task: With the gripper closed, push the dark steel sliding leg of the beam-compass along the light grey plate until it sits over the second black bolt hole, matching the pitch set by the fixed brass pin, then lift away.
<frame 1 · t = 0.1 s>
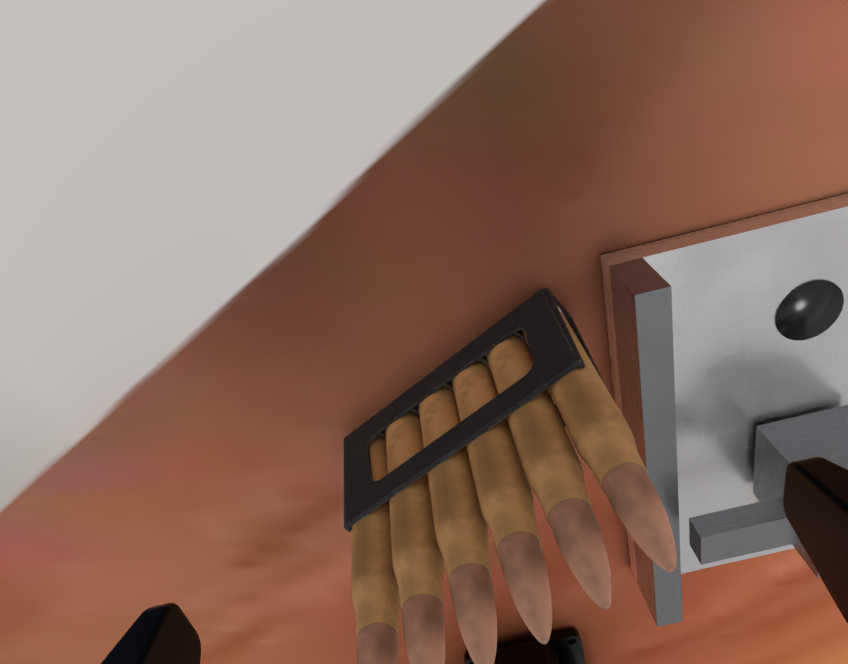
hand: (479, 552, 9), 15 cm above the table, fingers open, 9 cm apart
ammunition clip: (451, 378, 25), on the table
hole plate: (762, 402, 27), on the table
sliding leg: (787, 504, 25), point 4 cm above the table, slide at 0.0 cm
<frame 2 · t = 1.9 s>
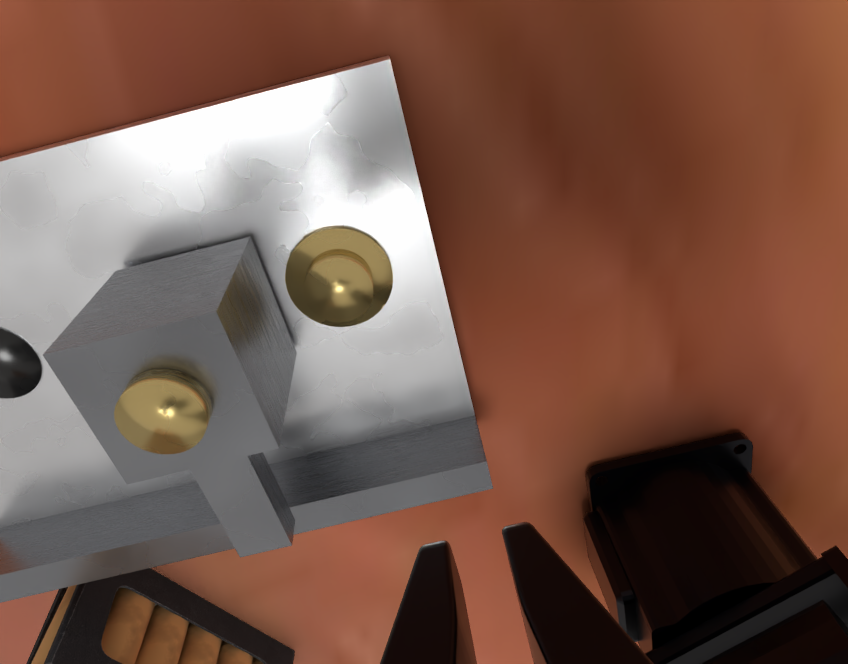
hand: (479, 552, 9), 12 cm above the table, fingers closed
ammunition clip: (192, 605, 27), on the table
hole plate: (173, 335, 20), on the table
sliding leg: (220, 420, 17), point 4 cm above the table, slide at 0.0 cm
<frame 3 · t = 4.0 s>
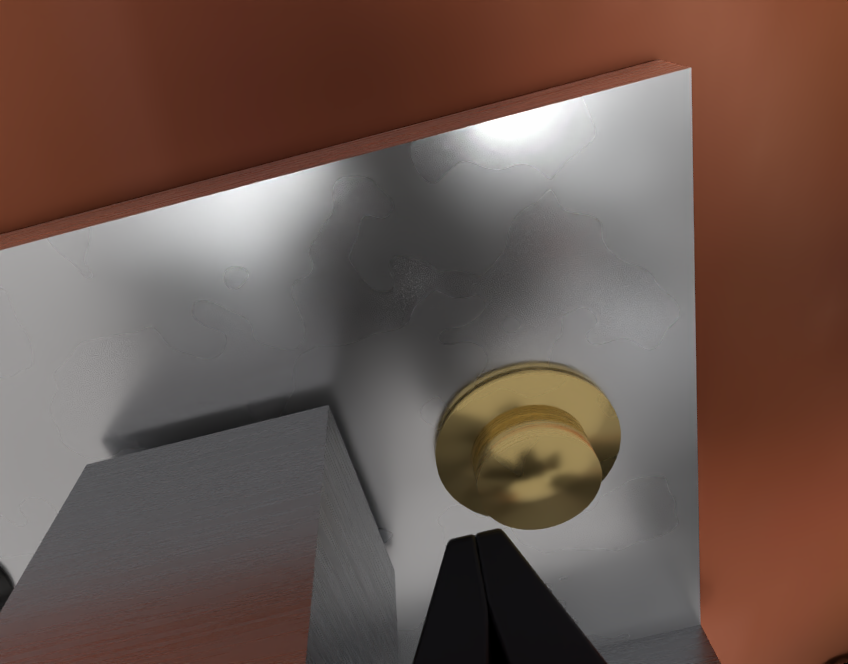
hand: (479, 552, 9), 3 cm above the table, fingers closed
hole plate: (230, 519, 12), on the table
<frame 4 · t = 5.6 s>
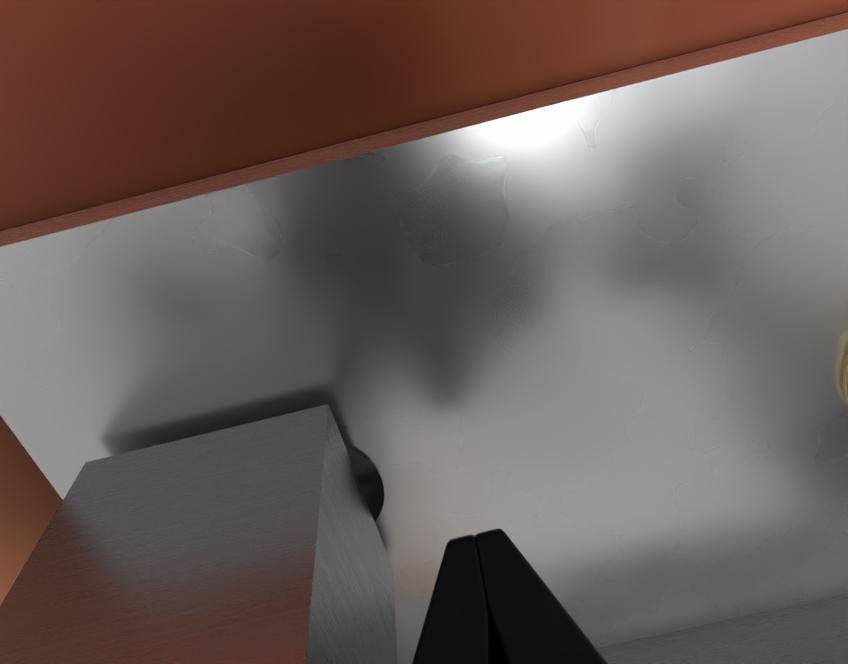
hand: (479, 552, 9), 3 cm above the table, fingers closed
hole plate: (577, 437, 12), on the table
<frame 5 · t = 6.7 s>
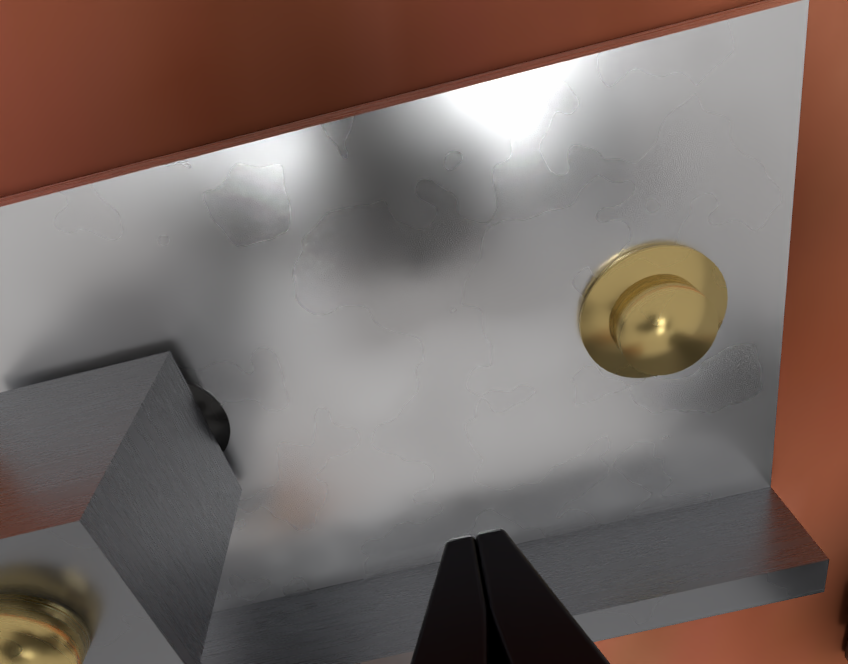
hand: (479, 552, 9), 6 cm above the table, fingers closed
hole plate: (394, 385, 15), on the table
sliding leg: (127, 606, 12), point 4 cm above the table, slide at 8.0 cm
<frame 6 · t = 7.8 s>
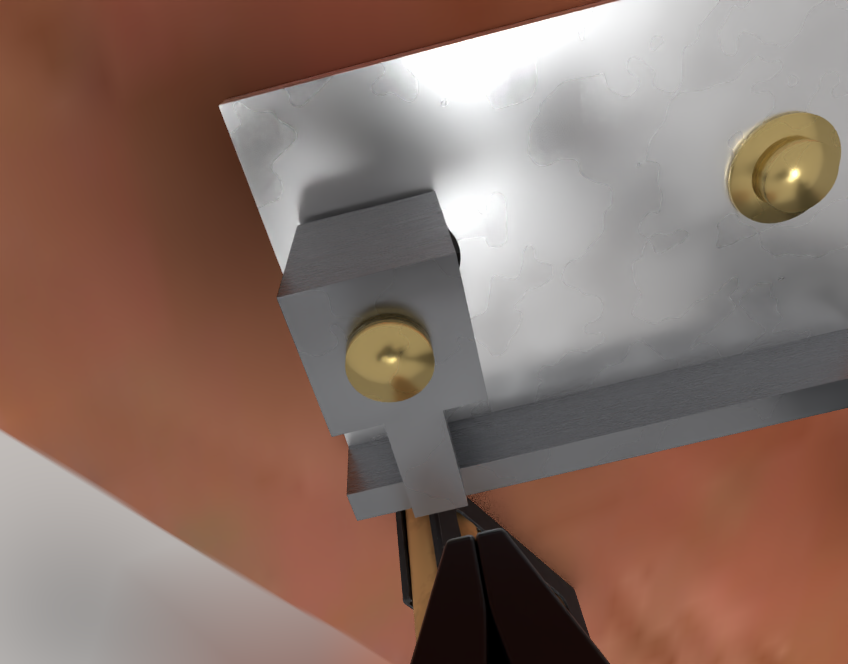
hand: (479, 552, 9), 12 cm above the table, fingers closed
ammunition clip: (489, 539, 26), on the table
hole plate: (574, 237, 20), on the table
sliding leg: (405, 376, 17), point 4 cm above the table, slide at 8.0 cm
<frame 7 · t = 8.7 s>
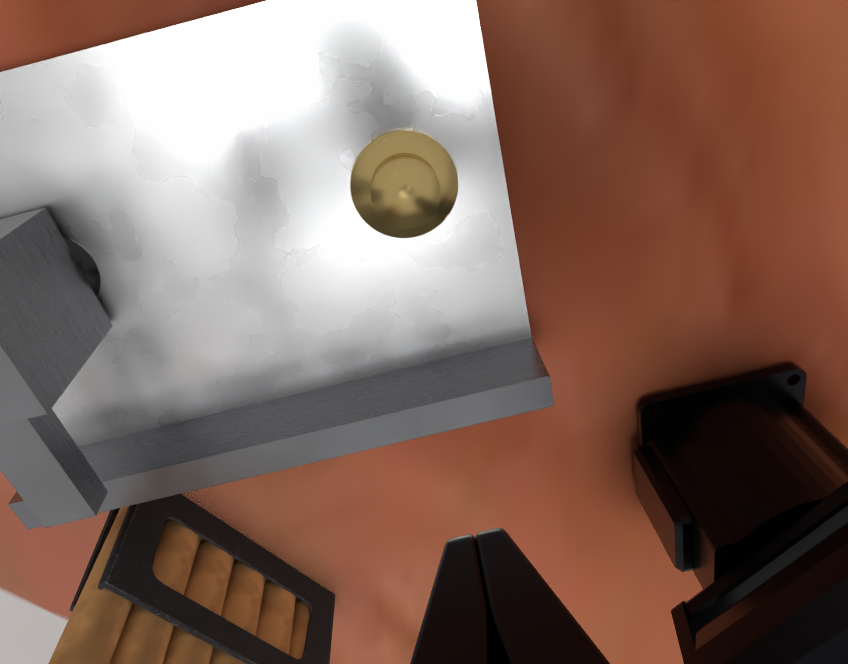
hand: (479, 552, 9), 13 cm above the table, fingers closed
ammunition clip: (235, 545, 27), on the table
hole plate: (230, 251, 20), on the table
sliding leg: (14, 390, 17), point 4 cm above the table, slide at 8.0 cm
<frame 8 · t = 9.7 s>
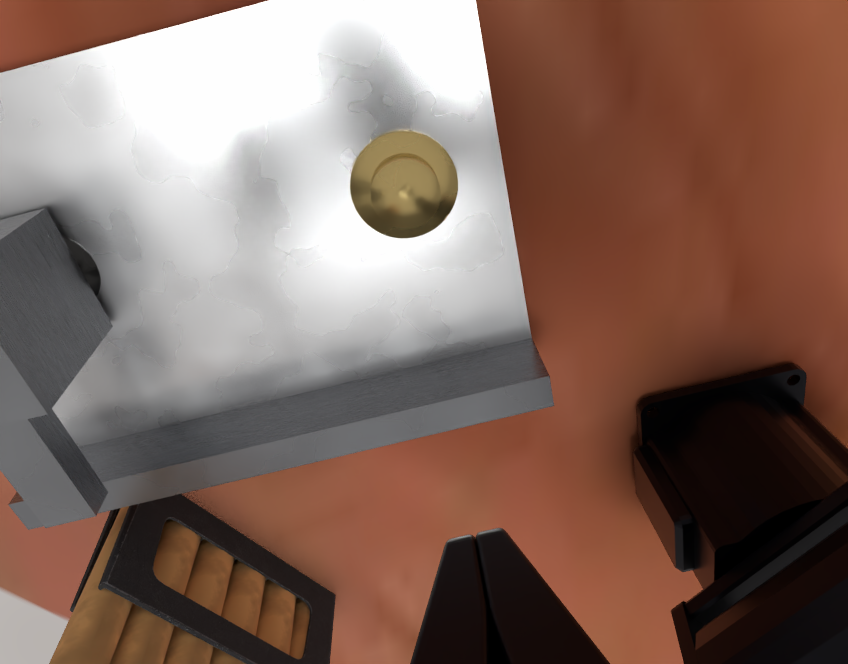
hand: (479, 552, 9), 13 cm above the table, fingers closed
ammunition clip: (235, 545, 27), on the table
hole plate: (230, 251, 20), on the table
sliding leg: (14, 390, 17), point 4 cm above the table, slide at 8.0 cm
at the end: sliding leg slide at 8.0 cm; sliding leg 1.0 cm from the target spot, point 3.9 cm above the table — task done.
